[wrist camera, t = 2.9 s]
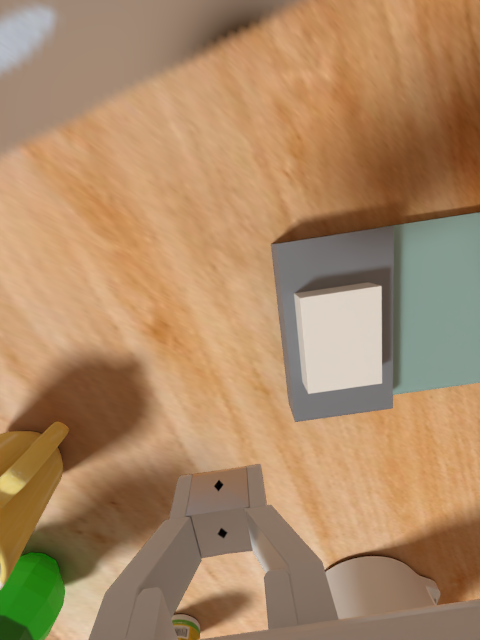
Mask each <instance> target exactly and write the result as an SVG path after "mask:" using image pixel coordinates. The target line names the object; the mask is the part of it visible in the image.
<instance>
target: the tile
mask: <svg viewBox="0 0 480 640" xmlns="http://www.w3.org/2000/svg"><path fill="white" fill-rule="evenodd" d="M294 299H295V310H296V320H297V331H298V341H299V352H300V362H301V373H302V382H303V384H304V386H305V388H306V390H307V392H308V394H311V393H319V392H326V391H333V390H340V389H347V388H354V387H361V386H368V385H375V384H382V286H380V285H376V284H373V283H369V282H367V283H360V284H353V285H347V286H340V287H333V288H326V289H320V290H313V291H306V292H300V293H294Z"/></svg>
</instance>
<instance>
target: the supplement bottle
mask: <svg viewBox="0 0 480 640" xmlns="http://www.w3.org/2000/svg"><path fill="white" fill-rule="evenodd" d="M171 620H172V623H173V626H174V629H175V632H176V635H177V638H178V640H199V639H200V625H199V623H198V621H197V620H196V619H195V618H193V617H191V616H188V615H184V614H176V615H173V617H172V619H171Z"/></svg>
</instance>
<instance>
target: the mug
mask: <svg viewBox="0 0 480 640" xmlns="http://www.w3.org/2000/svg"><path fill="white" fill-rule="evenodd" d="M68 432H69V428H68V427H67V426H66V425H65V424H63V423H61V422H58V421H56V422H54V423H53V424H52V425H51V426H50V427H49V428H48V429H47V430H46V431H45V432H44V433H42V434H41V433H38V432H33V431H13V432H6V433H3V434H0V590H1V589H2V588H3V586H4V585H5V583H6V582H7V580H8V578H9V576H10V574H11V572H12V571H13V569H14V567H15V565H16V563H17V561H18V560H19V558H20V556H21V554H22V552H23V550H24V548H25V546H26V544H27V542H28V540H29V538H30V536H31V534H32V533H33V531H34V529H35V527H36V525H37V523H38V521H39V519H40V517H41V515H42V513H43V511H44V510H45V508H46V506H47V504H48V502H49V500H50V498H51V496H52V494H53V493H54V491H55V489H56V487H57V485H58V484H59V482H60V480H61V477H62V473H63V462H62V458H61V454H60V451H59V448H58V446H59V444H60V443H61V442H62V441H63V439H64V438H65V437H66V436H67V434H68Z"/></svg>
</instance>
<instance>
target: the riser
mask: <svg viewBox="0 0 480 640" xmlns="http://www.w3.org/2000/svg"><path fill="white" fill-rule="evenodd" d="M271 249H272V257H273V266H274V275H275V284H276V293H277V302H278V311H279V320H280V328H281V337H282V346H283V355H284V364H285V373H286V382H287V391H288V399H289V405H290V408H291V411H292V414H293V417H294V420H295V422H298V421H306V420H313V419H320V418H327V417H334V416H341V415H348V414H355V413H363V412H370V411H377V410H384V409H391V408H393V272H394V226H390V227H381V228H373V229H366V230H360V231H353V232H347V233H340V234H334V235H327V236H321V237H314V238H308V239H301V240H295V241H288V242H282V243H275V244H271ZM367 282H369V283H373V284H376V285H380V286H382V384H375V385H368V386H361V387H354V388H347V389H340V390H333V391H326V392H319V393H311V394H308V392H307V390H306V388H305V386H304V384H303V382H302V373H301V362H300V352H299V341H298V331H297V320H296V310H295V299H294V293H300V292H306V291H313V290H320V289H326V288H333V287H340V286H347V285H353V284H360V283H367Z"/></svg>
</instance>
